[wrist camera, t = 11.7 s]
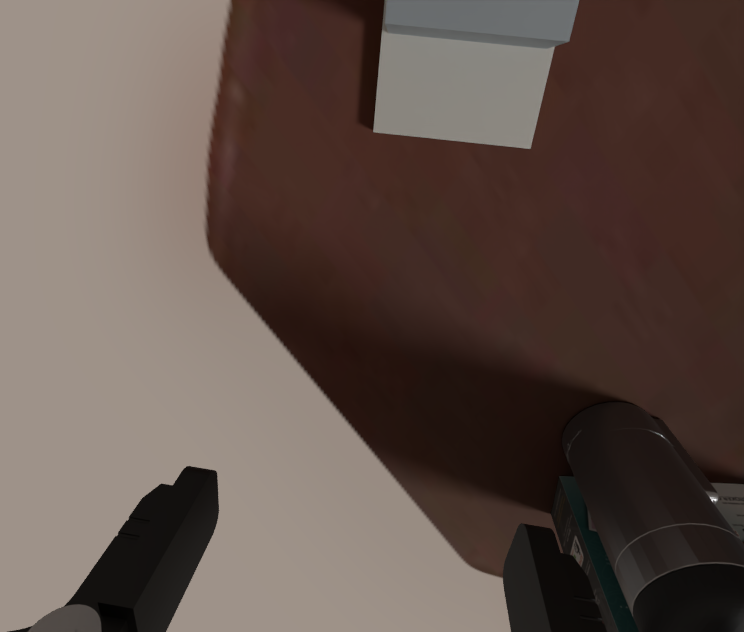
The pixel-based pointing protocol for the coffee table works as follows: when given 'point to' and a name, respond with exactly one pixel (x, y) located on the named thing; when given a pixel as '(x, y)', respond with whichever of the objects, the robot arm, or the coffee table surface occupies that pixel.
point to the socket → (467, 67)
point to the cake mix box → (583, 542)
